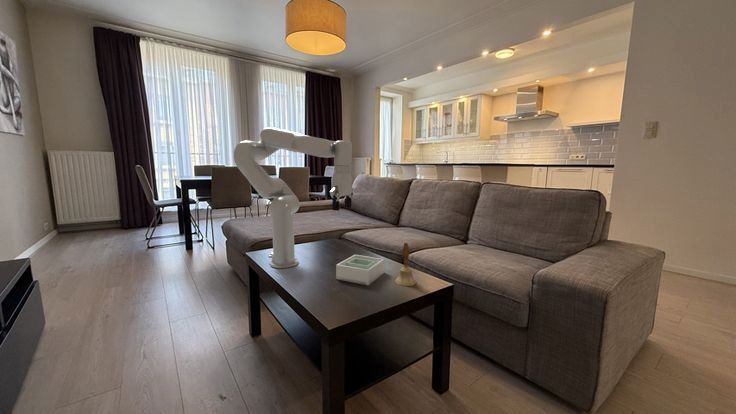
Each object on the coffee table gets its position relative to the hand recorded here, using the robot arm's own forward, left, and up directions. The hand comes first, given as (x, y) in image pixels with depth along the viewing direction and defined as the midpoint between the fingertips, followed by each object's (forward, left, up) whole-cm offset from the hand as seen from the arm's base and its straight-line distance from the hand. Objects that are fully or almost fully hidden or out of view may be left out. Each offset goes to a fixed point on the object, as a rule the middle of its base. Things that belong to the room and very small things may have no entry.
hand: (342, 208), depth 133 cm
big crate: (+13, -6, -27) cm, 30 cm away
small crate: (+12, -6, -26) cm, 29 cm away
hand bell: (+32, -4, -27) cm, 42 cm away
